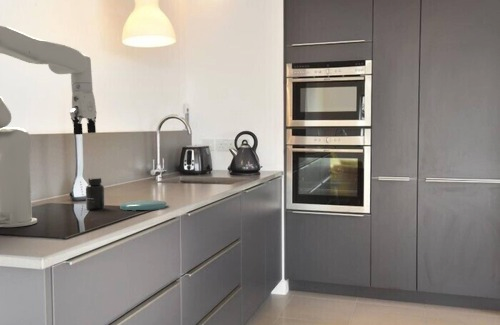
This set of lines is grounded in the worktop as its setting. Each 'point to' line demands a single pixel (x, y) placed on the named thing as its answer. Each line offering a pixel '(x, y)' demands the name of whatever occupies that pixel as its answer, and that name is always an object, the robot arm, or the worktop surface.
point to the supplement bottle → (94, 194)
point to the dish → (143, 205)
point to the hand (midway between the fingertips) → (85, 133)
